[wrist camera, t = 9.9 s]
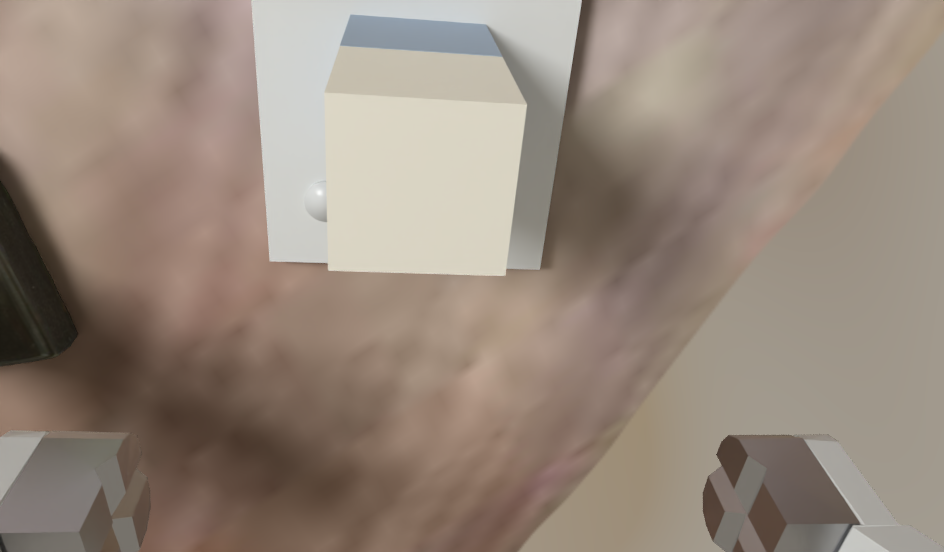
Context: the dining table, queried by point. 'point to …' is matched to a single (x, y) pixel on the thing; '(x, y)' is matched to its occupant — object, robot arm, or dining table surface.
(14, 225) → the figurine
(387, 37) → the block
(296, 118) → the build plate
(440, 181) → the block
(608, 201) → the dining table surface
